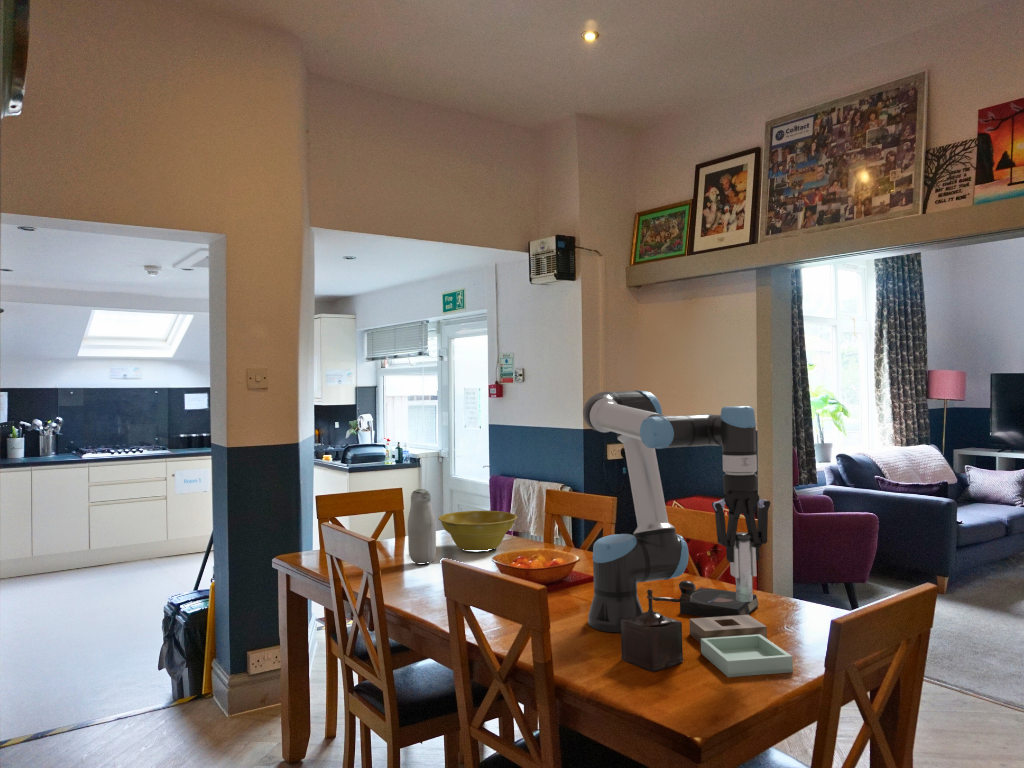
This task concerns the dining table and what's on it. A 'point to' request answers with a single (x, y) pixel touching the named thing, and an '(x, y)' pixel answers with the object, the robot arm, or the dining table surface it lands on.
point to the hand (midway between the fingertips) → (743, 575)
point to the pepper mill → (654, 635)
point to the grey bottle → (421, 528)
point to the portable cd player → (717, 604)
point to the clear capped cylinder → (744, 567)
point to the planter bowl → (477, 528)
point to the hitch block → (726, 627)
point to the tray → (746, 655)
